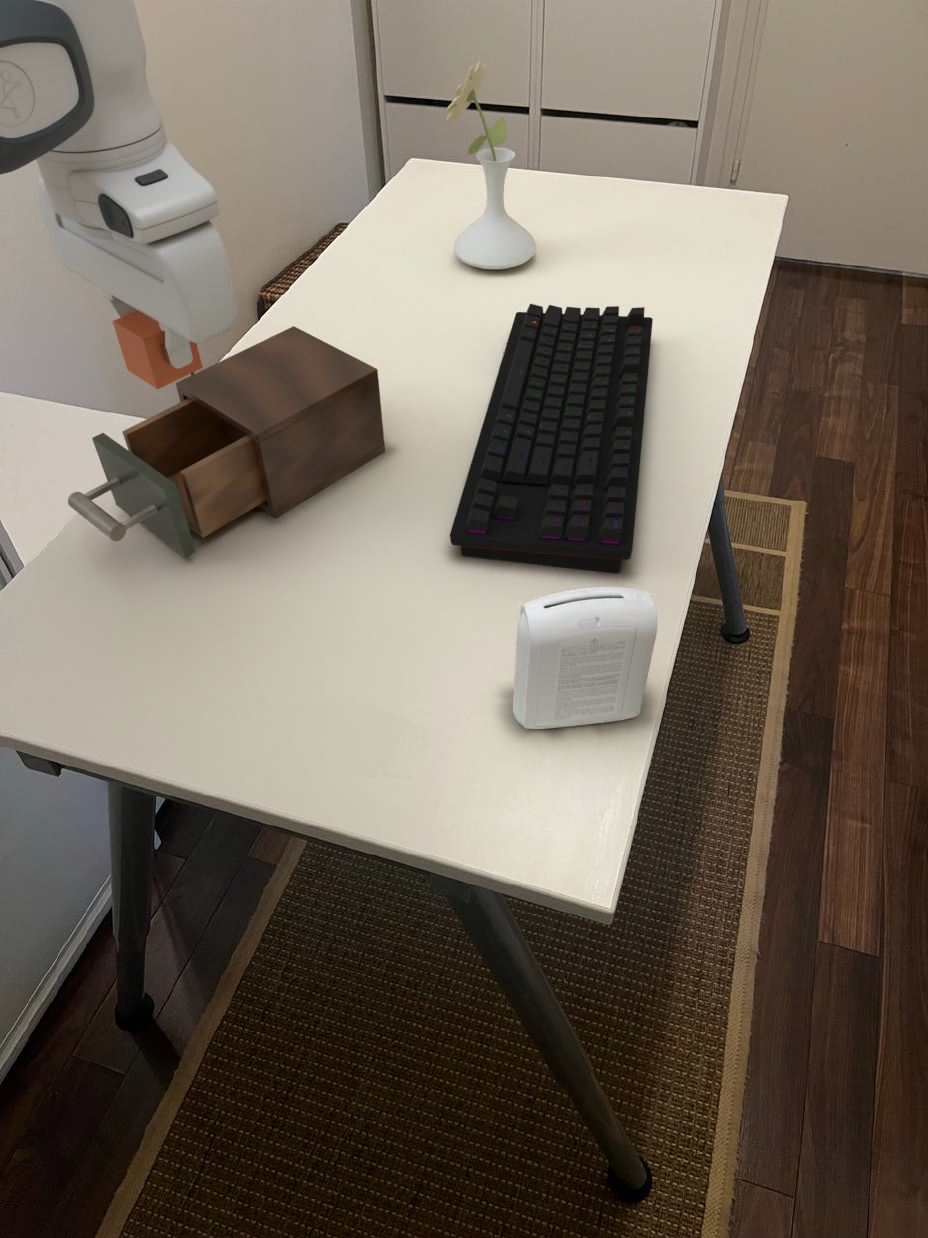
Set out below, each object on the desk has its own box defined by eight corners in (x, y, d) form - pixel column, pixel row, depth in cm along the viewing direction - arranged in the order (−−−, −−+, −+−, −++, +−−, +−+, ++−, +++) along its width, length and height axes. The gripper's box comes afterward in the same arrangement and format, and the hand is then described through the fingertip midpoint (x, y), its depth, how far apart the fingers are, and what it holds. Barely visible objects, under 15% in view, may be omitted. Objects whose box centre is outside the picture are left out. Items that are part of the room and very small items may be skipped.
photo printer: (633, 679, 75) (653, 567, 66) (647, 721, 72) (670, 609, 63) (508, 694, 74) (511, 582, 65) (517, 737, 71) (522, 626, 62)
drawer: (138, 586, 82) (113, 518, 77) (70, 530, 88) (41, 462, 82) (299, 490, 92) (287, 422, 86) (228, 444, 97) (212, 378, 92)
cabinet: (275, 518, 90) (257, 434, 83) (197, 465, 96) (174, 382, 89) (385, 451, 97) (377, 368, 90) (306, 406, 104) (293, 325, 97)
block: (157, 389, 74) (142, 339, 71) (127, 370, 76) (111, 320, 73) (202, 367, 76) (190, 318, 73) (172, 349, 78) (159, 300, 75)
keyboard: (515, 332, 114) (516, 293, 111) (649, 342, 112) (654, 303, 109) (449, 559, 86) (448, 517, 82) (627, 579, 83) (634, 537, 80)
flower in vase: (494, 233, 134) (495, 36, 116) (552, 258, 128) (563, 53, 110) (428, 263, 128) (418, 59, 110) (486, 290, 122) (486, 79, 104)
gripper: (-4, 150, 69) (58, 323, 79) (151, 227, 59) (200, 413, 69) (72, 127, 72) (123, 296, 82) (232, 197, 62) (267, 379, 72)
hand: (159, 350), depth 75 cm, fingers closed on block, 4 cm apart
